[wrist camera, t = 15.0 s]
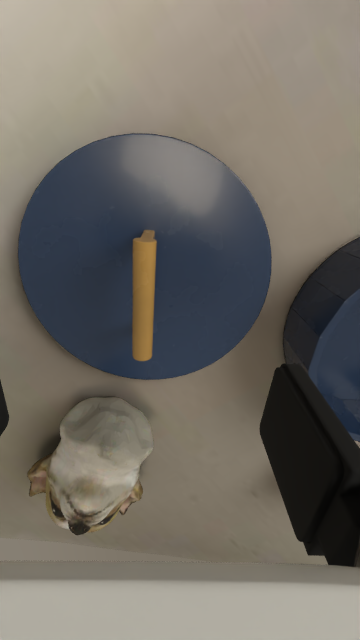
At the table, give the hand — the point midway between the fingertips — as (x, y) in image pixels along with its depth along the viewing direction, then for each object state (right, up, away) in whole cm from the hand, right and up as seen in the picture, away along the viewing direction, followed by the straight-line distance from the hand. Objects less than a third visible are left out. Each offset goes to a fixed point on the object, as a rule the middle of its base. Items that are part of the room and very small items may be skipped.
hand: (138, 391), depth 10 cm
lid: (-1, +5, +10) cm, 12 cm away
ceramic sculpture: (-6, -9, +18) cm, 21 cm away
